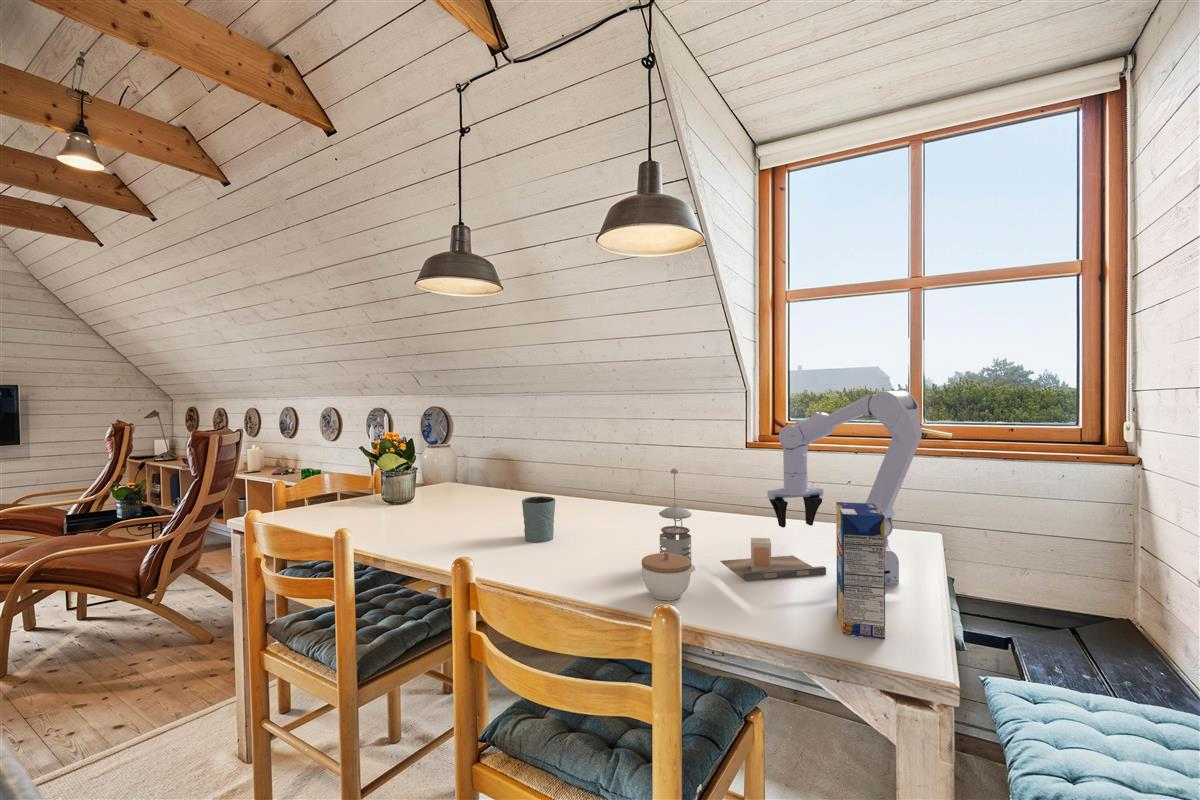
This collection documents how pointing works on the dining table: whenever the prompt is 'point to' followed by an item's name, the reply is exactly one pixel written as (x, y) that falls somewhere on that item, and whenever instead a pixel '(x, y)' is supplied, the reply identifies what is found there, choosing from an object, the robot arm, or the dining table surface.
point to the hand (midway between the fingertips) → (795, 525)
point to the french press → (676, 531)
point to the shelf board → (774, 568)
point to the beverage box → (861, 569)
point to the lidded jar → (666, 575)
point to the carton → (760, 554)
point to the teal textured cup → (538, 518)
